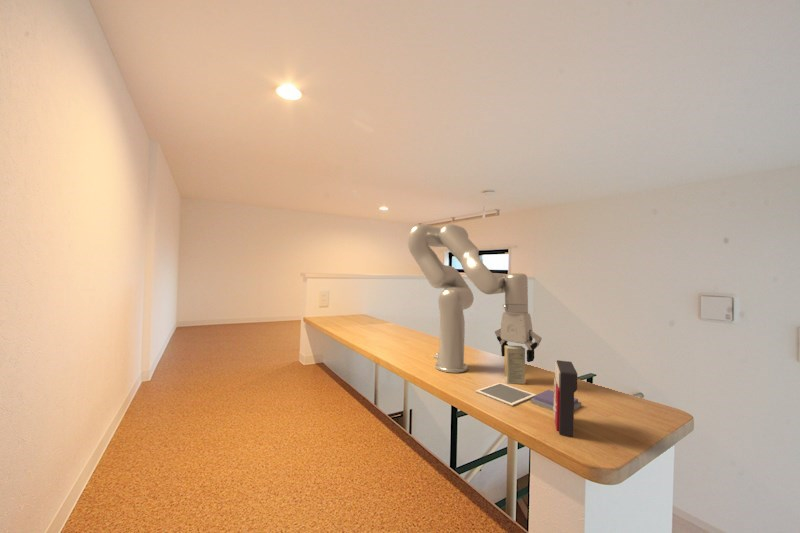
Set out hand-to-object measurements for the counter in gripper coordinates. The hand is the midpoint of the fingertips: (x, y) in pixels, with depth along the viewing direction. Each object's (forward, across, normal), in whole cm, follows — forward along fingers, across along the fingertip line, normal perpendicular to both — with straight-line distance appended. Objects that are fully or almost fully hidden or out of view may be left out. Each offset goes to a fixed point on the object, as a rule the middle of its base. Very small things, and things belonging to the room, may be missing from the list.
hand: (517, 358), depth 112 cm
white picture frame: (+8, +4, -13) cm, 16 cm away
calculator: (+9, +24, -19) cm, 32 cm away
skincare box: (+8, -1, 0) cm, 8 cm away
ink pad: (+9, +17, -7) cm, 20 cm away
